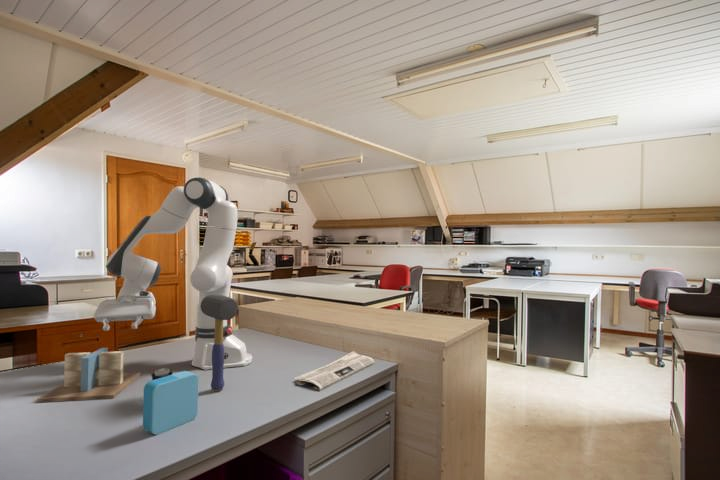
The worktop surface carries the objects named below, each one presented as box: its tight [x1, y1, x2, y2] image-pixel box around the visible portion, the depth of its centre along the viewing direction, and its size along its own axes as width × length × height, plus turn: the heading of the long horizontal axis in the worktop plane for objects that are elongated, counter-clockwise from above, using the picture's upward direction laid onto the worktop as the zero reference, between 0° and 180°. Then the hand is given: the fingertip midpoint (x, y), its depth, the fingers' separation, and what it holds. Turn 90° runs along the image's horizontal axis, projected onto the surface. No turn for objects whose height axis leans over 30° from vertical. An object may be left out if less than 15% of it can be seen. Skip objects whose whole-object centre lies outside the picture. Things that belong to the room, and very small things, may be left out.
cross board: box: [36, 350, 142, 403], centre depth 119 cm, size 20×20×11 cm
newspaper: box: [294, 350, 376, 392], centre depth 136 cm, size 35×12×4 cm, turn 147°
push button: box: [150, 367, 174, 381], centre depth 105 cm, size 7×5×10 cm
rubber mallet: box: [200, 295, 239, 392], centre depth 118 cm, size 12×8×30 cm, turn 49°
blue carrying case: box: [142, 370, 199, 436], centre depth 95 cm, size 12×4×12 cm, turn 147°
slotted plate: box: [80, 347, 109, 392], centre depth 119 cm, size 12×2×10 cm, turn 10°
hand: (119, 328), depth 136 cm, fingers open, 8 cm apart
